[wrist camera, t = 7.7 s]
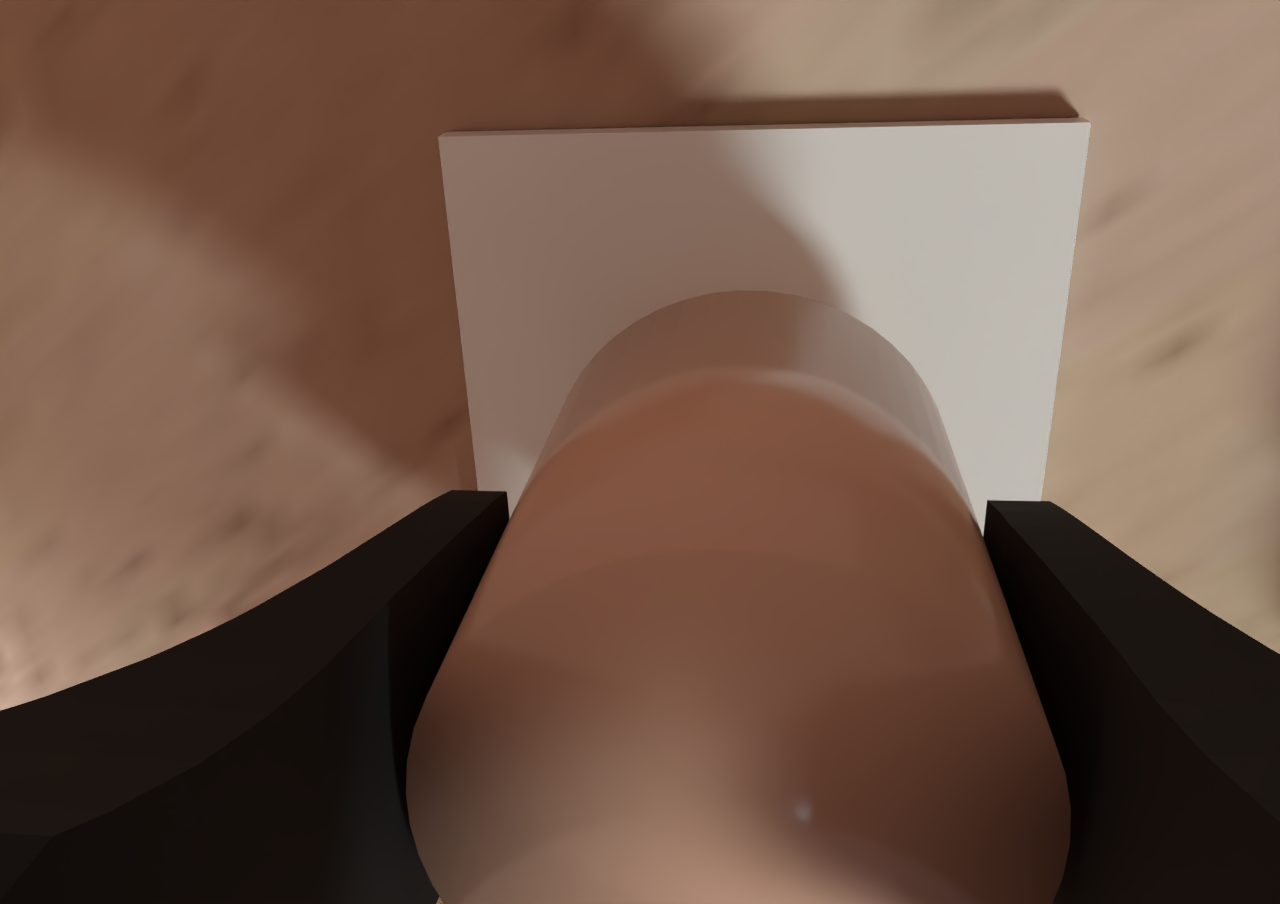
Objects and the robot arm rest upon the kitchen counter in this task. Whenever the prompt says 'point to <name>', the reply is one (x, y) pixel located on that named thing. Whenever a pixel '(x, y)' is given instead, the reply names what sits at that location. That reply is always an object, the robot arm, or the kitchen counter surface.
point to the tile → (772, 261)
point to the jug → (740, 645)
